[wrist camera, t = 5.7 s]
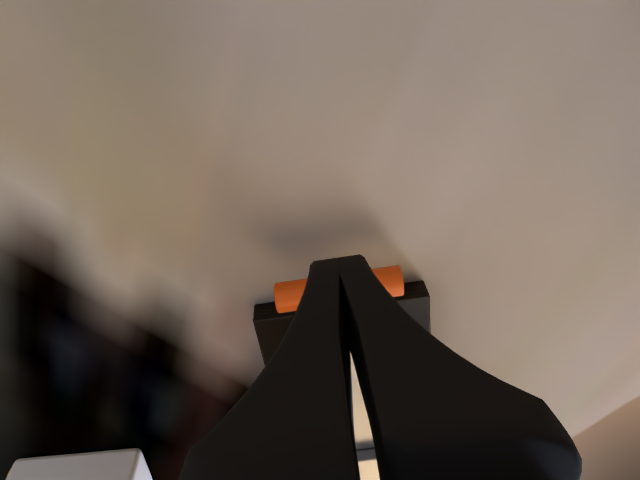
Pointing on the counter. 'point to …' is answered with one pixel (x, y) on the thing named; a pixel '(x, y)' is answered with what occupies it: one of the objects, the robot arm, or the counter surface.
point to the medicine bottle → (83, 466)
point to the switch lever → (288, 301)
